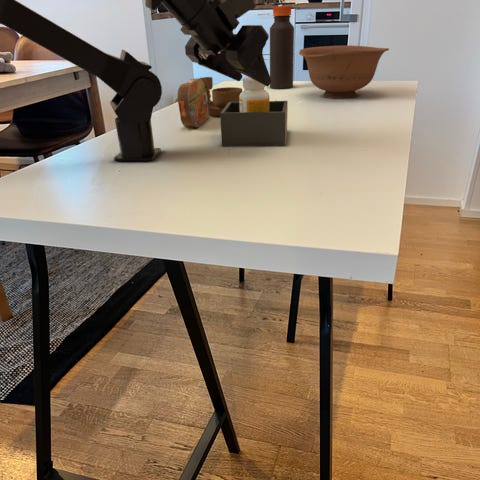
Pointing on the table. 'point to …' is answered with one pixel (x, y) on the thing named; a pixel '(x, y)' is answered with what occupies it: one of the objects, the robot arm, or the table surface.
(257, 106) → the supplement bottle
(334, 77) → the bowl
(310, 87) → the table surface
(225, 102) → the place setting
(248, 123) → the bin
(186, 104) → the tin
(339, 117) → the table surface
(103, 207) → the table surface
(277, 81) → the brown bottle
